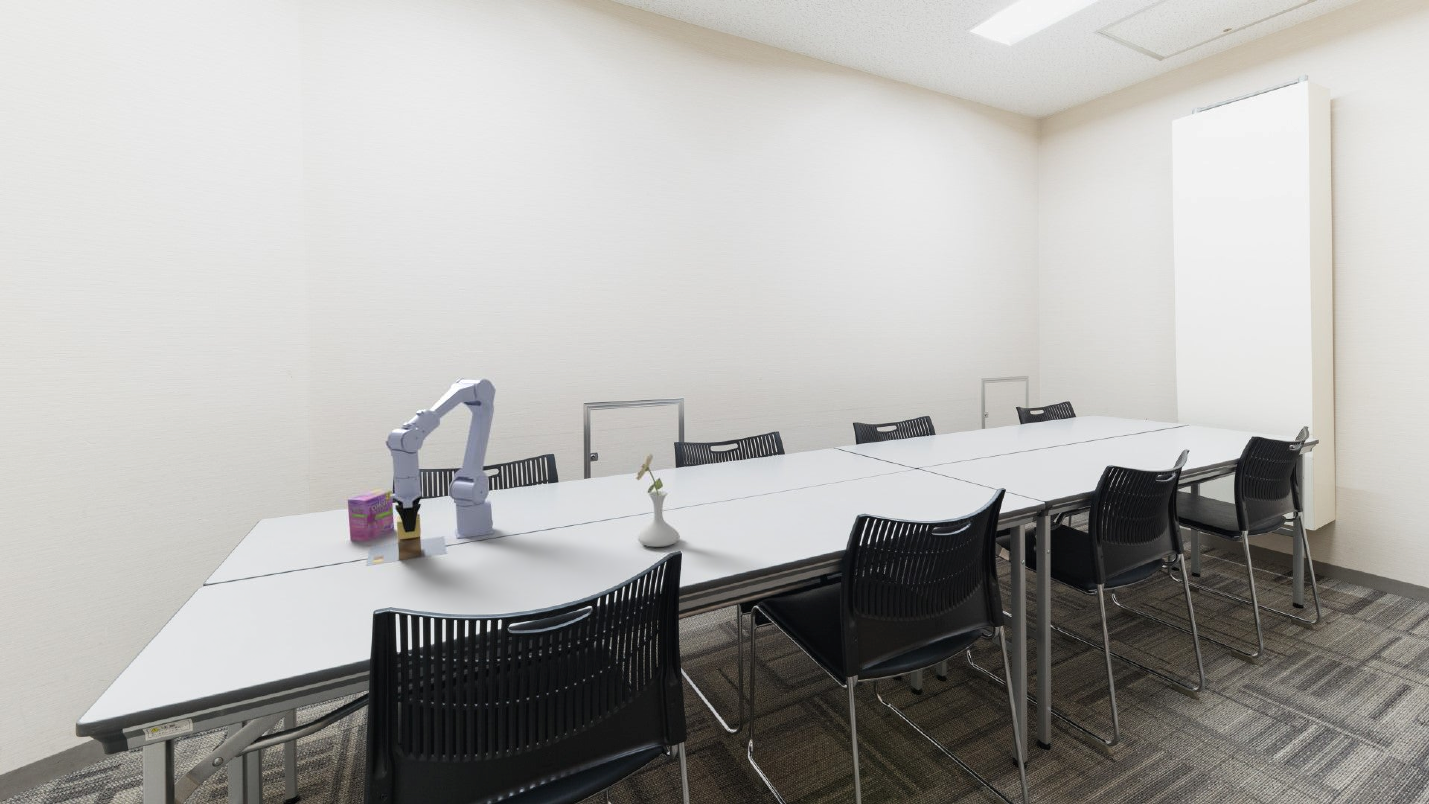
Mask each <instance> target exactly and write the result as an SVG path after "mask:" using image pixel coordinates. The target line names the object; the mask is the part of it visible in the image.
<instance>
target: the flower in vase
mask: <svg viewBox="0 0 1429 804" xmlns="http://www.w3.org/2000/svg"><path fill="white" fill-rule="evenodd" d="M653 457H654V455H652V453H651V454H649V455H647V457H646V460H645V463H642V465H641V468H640V470H639V471H638V472H637V474H636V477H635V479H636V480H637V481H640V480H641V479H642V477H643V476H644V475H645V473H646V472H648V473H649V474H650V476H651V478H652V480H653V483H652V484H651V485H650V486H649V488H648V490H647V492H646V493H647V494H648V496H649V497H650V498H651V501H652V503H653V519H652V521H651V522H650V523H649V524H648V525H646V527H644V528H643V529H642V530H641V531H640V532H639V534H638V535H637V538H636V539H637V541H638V542H639V543H640V544H642V545H644V546H647V547H652V548H653V547H655V548H659V547H660V548H661V547H667V546H671V545H673V544H675V543H677V542H678V541H679V540H680V538H681V536H680V533H679V532H678V531H677V530H676V529H675V528H674V527H672V525H670V524H669V523H668V522H666V521H665V520H664V516H663V507H664V506H663V505H664V501H665V498H666V496H667V495H668V492H666V491H663V490H660V489H661V488H663V486H664V484H663V481H662V480H661V478H660V477H658V479H656V480H655V478H654V475H653V472H652V471H651V470H650V464H651V462H652V461H653ZM654 489H655V490H654ZM653 490H654V491H653Z"/></svg>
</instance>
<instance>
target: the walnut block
mask: <svg viewBox="0 0 1429 804" xmlns="http://www.w3.org/2000/svg"><path fill="white" fill-rule="evenodd" d="M397 543H398V550H399V560H401V559H408V558H414V557H421V536H420V537H413V538H406V539H399V540H398V539H397ZM421 558H422V557H421ZM408 560H409V559H408Z"/></svg>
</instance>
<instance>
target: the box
mask: <svg viewBox="0 0 1429 804" xmlns="http://www.w3.org/2000/svg"><path fill="white" fill-rule="evenodd" d="M390 494H393V491H392V490H387V489H386V490H385V489H375V490H371V491H369V492H366V493H363V494H360V495H357V496H354V497H351V498H349V499H347V509H348V522H349V523H348V526H349V538H350V541H359V542H360V541H361V542H369V541H371V540H374V539H376V538H378V537H380V536H383V535H385V534H387V533H389V532H392V531H393V530H395V521H394V505H393V498H390Z"/></svg>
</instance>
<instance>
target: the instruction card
mask: <svg viewBox="0 0 1429 804" xmlns="http://www.w3.org/2000/svg"><path fill="white" fill-rule="evenodd" d="M445 539H446V538H445V536H444V535H443V536H436V537H430V538H429V537H428V538H422V539H421V557H414V558H408V559H401V560H399V550H398V542H396V543H395V542H393V543H392V542H391V543H386V544H381V545H380V544H379V545H372V546H371V545H370V547H369V550H368V555H367V559H366V563H365V566H366V567H368V566H375V565H380V564H386V563H395V562H400V561H402V562H403V561H407V560H415V559H420V558H428V557H433V556H440V555H446V554H447V549H446V547H447V546H446V540H445Z"/></svg>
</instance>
